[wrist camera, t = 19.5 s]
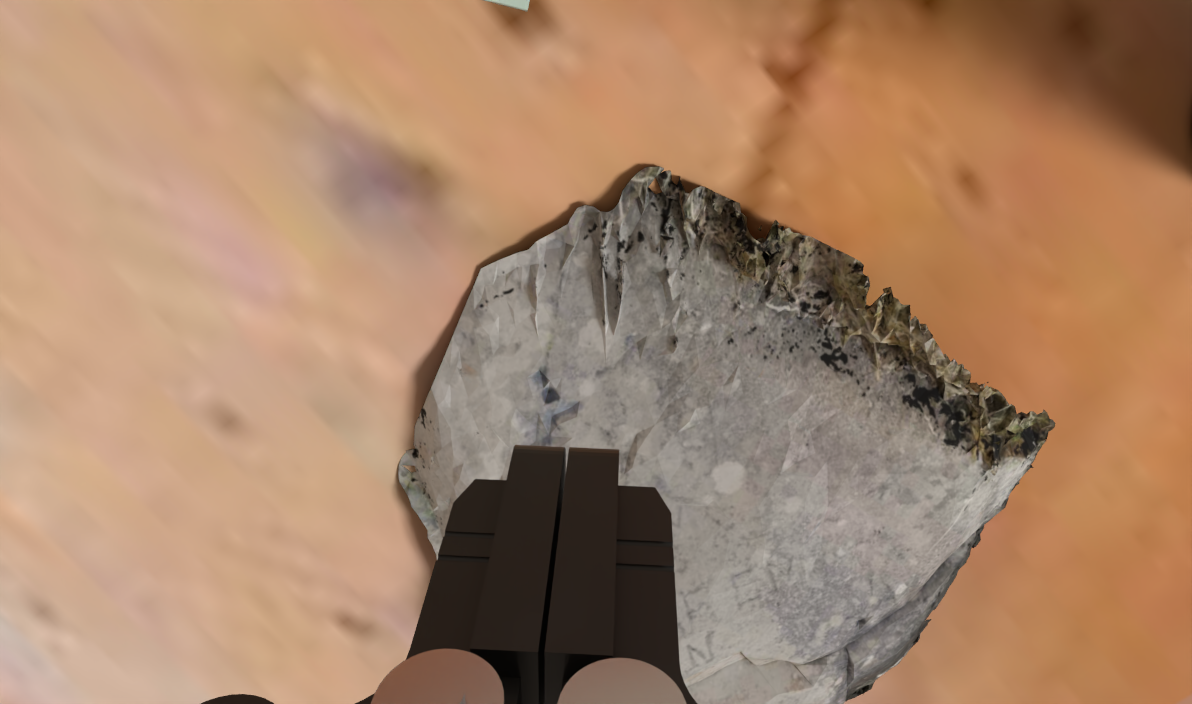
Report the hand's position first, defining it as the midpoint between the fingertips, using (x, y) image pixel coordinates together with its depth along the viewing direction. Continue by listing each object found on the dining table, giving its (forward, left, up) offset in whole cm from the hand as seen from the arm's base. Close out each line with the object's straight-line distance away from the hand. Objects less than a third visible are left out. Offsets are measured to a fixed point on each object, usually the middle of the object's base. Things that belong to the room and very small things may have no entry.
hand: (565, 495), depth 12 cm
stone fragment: (-7, +14, -23) cm, 28 cm away
